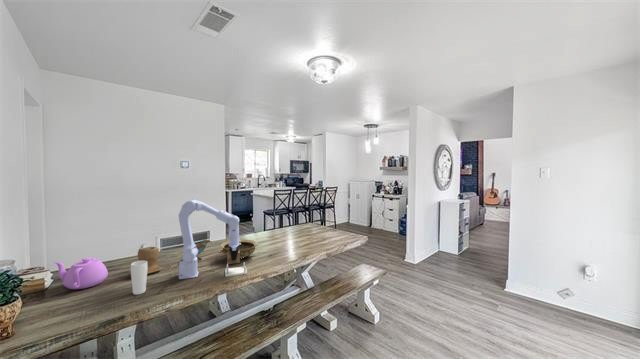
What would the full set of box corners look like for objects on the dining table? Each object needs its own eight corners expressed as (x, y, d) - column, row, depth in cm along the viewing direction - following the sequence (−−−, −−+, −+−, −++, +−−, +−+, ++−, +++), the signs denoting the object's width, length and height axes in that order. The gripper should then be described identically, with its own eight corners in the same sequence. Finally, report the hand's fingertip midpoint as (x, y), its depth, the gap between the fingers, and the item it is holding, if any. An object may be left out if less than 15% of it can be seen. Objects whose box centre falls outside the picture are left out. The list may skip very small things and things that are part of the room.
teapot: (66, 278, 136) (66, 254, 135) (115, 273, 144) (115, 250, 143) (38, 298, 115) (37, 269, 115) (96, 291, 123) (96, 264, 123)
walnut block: (227, 264, 145) (227, 254, 144) (227, 261, 149) (227, 251, 149) (239, 262, 147) (239, 252, 147) (239, 260, 151) (239, 250, 151)
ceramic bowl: (225, 268, 155) (226, 252, 154) (210, 258, 171) (210, 244, 171) (266, 257, 176) (267, 243, 176) (249, 249, 193) (250, 236, 192)
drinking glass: (145, 287, 127) (145, 259, 127) (149, 292, 123) (149, 262, 123) (129, 292, 122) (128, 262, 122) (133, 297, 118) (132, 266, 117)
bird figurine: (182, 266, 154) (198, 235, 162) (175, 262, 160) (191, 233, 168) (200, 271, 164) (214, 242, 172) (192, 268, 170) (207, 240, 178)
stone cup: (157, 266, 155) (157, 243, 155) (163, 272, 147) (163, 247, 147) (127, 274, 144) (127, 248, 143) (132, 280, 136) (132, 253, 135)
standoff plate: (225, 276, 143) (225, 269, 142) (225, 270, 152) (225, 263, 151) (246, 274, 147) (246, 267, 147) (245, 268, 156) (245, 261, 156)
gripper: (241, 239, 142) (241, 262, 143) (240, 233, 156) (240, 254, 156) (228, 240, 140) (228, 263, 140) (228, 233, 153) (228, 255, 154)
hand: (233, 258), depth 148 cm, fingers closed on walnut block, 4 cm apart
